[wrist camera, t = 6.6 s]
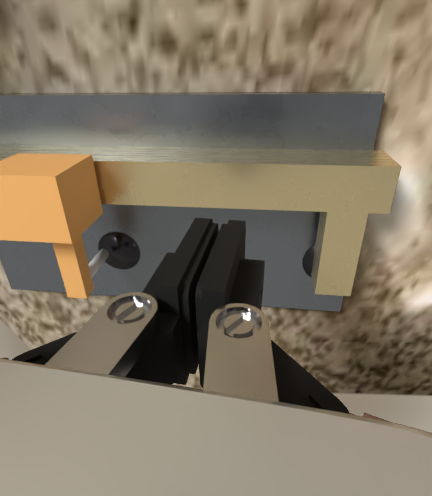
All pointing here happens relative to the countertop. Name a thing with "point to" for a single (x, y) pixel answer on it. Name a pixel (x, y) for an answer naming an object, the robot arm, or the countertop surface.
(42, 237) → the sliding head
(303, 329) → the countertop surface
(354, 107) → the drilled steel plate with beam
